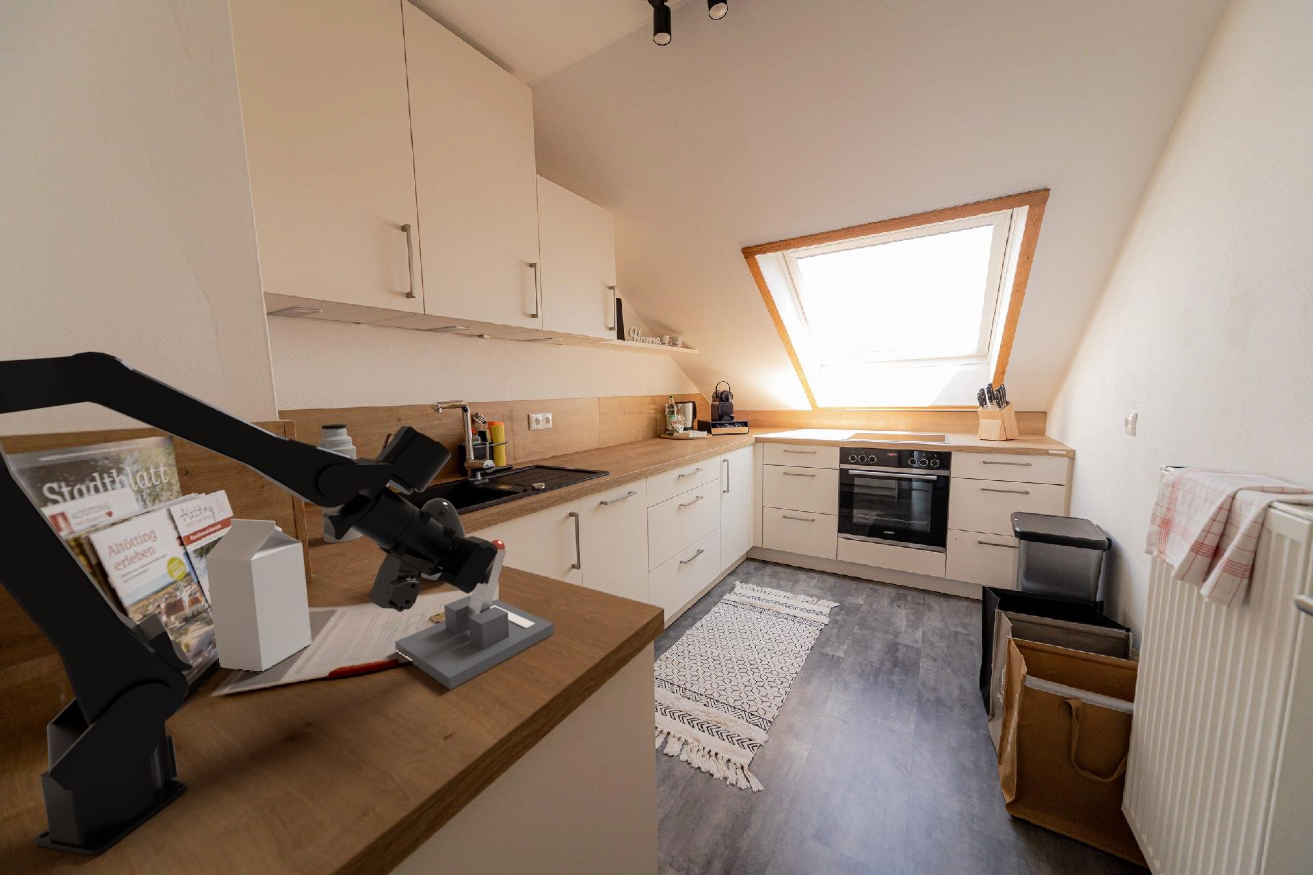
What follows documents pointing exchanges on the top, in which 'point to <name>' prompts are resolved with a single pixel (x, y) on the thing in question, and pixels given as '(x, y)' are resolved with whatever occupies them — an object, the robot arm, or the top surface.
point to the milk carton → (257, 596)
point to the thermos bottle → (341, 443)
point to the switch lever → (487, 583)
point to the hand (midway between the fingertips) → (482, 579)
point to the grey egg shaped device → (444, 520)
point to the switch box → (472, 640)
